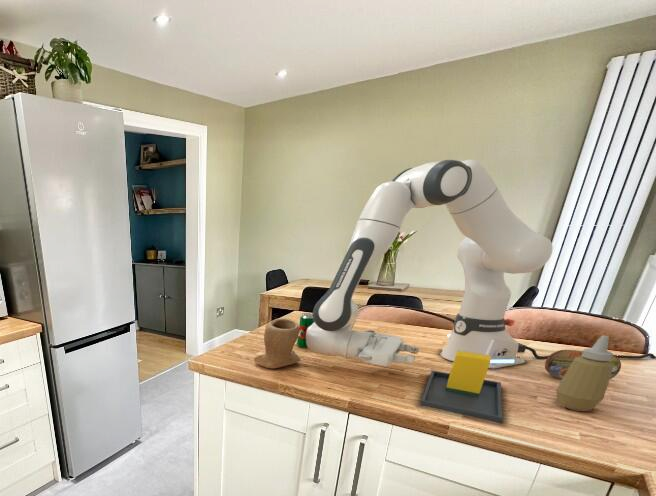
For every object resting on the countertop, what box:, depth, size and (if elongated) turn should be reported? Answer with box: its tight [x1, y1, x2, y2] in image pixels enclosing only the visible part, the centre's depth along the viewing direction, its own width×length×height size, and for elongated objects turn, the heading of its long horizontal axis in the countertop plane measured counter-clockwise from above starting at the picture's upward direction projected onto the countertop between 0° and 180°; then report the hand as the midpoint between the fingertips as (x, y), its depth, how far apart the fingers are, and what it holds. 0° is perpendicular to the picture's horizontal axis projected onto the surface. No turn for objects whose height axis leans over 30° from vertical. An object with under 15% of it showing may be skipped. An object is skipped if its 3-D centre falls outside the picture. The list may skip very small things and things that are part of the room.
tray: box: [419, 370, 503, 424], centre depth 103 cm, size 26×16×2 cm, turn 141°
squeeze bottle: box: [555, 335, 614, 412], centre depth 94 cm, size 8×8×18 cm
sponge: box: [446, 351, 491, 396], centre depth 104 cm, size 4×7×10 cm, turn 51°
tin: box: [544, 349, 622, 381], centre depth 111 cm, size 15×3×8 cm, turn 66°
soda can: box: [296, 312, 314, 349], centre depth 144 cm, size 5×5×12 cm
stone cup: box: [253, 317, 301, 369], centre depth 126 cm, size 15×12×15 cm
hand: (416, 355), depth 110 cm, fingers open, 8 cm apart
